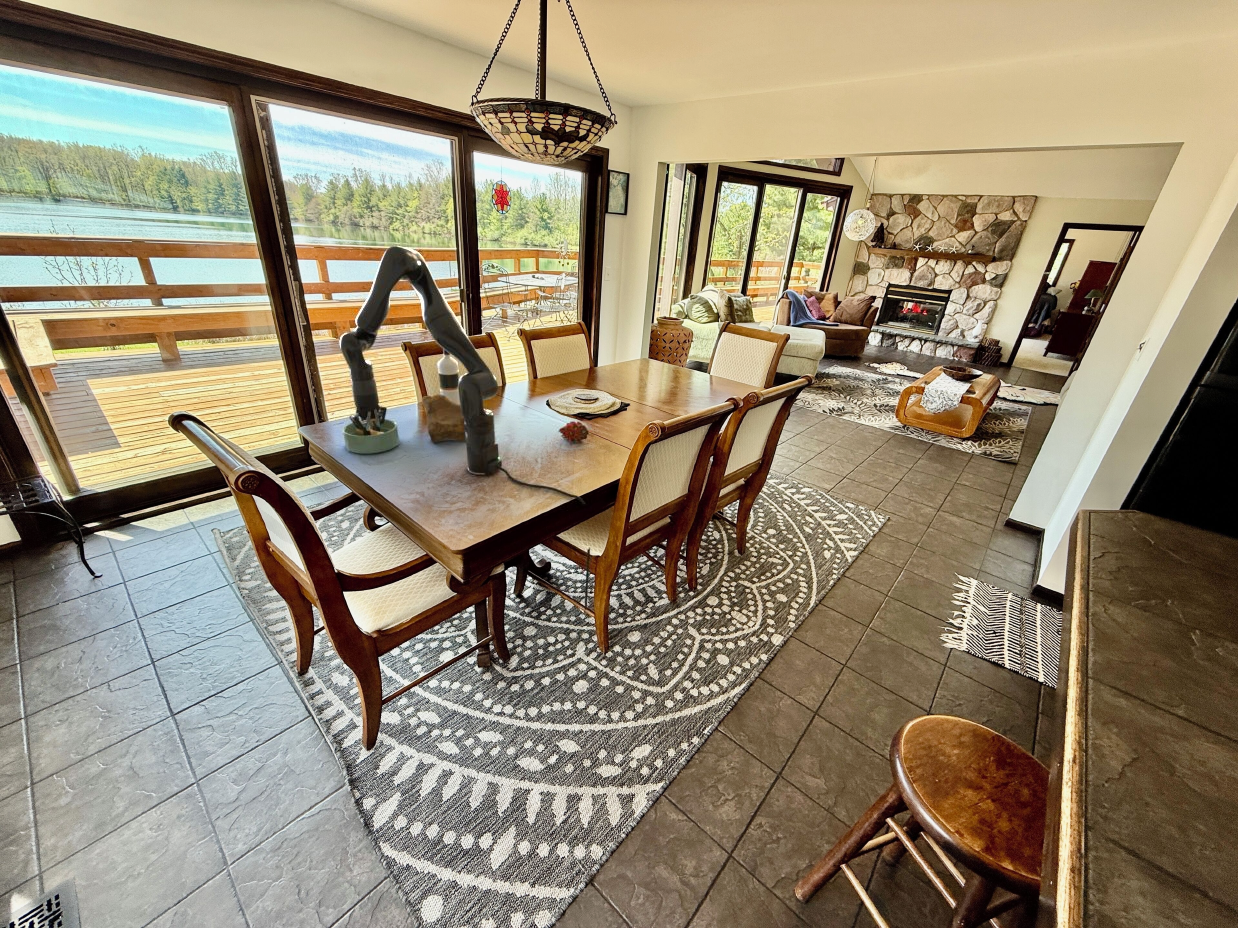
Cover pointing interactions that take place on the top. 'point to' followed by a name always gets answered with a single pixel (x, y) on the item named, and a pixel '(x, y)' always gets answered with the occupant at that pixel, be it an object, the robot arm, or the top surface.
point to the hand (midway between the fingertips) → (372, 437)
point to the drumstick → (370, 432)
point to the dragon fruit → (574, 431)
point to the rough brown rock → (443, 419)
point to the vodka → (448, 377)
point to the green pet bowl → (371, 438)
